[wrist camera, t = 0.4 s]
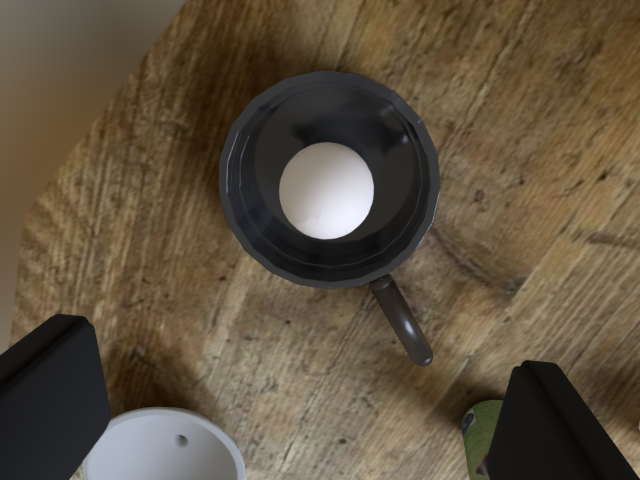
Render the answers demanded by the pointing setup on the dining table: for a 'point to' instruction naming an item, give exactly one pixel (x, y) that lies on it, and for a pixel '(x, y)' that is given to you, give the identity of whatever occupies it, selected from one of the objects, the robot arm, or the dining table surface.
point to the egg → (326, 190)
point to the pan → (342, 128)
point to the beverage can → (479, 436)
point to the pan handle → (402, 320)
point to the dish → (163, 448)
